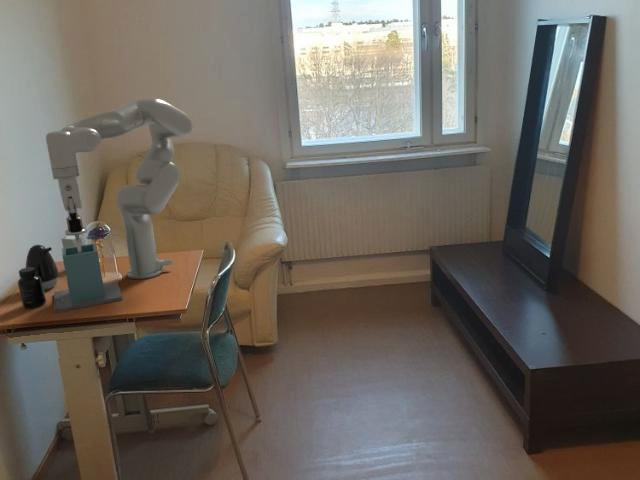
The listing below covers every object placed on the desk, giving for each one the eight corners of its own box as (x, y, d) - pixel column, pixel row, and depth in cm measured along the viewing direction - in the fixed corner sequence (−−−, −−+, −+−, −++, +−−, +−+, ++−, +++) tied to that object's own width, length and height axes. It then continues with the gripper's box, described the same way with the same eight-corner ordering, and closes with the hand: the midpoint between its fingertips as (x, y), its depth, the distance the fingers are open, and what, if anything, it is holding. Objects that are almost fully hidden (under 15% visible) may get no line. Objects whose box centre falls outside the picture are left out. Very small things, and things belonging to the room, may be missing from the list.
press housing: (117, 283, 219) (110, 238, 215) (122, 299, 204) (114, 251, 199) (54, 294, 212) (45, 248, 208) (55, 312, 197) (45, 262, 193)
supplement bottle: (29, 301, 208) (21, 266, 204) (49, 300, 208) (42, 265, 204) (18, 309, 201) (11, 273, 198) (40, 308, 201) (33, 272, 198)
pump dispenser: (49, 293, 214) (41, 249, 210) (22, 293, 216) (13, 249, 212) (67, 282, 224) (59, 240, 219) (40, 282, 226) (32, 240, 221)
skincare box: (88, 267, 238) (82, 236, 235) (78, 271, 235) (72, 239, 231) (76, 265, 241) (70, 234, 238) (66, 269, 238) (60, 238, 234)
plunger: (96, 277, 211) (85, 213, 205) (98, 284, 205) (86, 218, 199) (72, 281, 209) (60, 216, 203) (73, 288, 202) (61, 222, 196)
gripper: (79, 174, 190) (90, 234, 195) (77, 166, 205) (87, 222, 211) (52, 178, 188) (63, 238, 193) (52, 169, 203) (62, 225, 208)
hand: (75, 229), depth 202 cm, fingers closed on plunger, 4 cm apart
